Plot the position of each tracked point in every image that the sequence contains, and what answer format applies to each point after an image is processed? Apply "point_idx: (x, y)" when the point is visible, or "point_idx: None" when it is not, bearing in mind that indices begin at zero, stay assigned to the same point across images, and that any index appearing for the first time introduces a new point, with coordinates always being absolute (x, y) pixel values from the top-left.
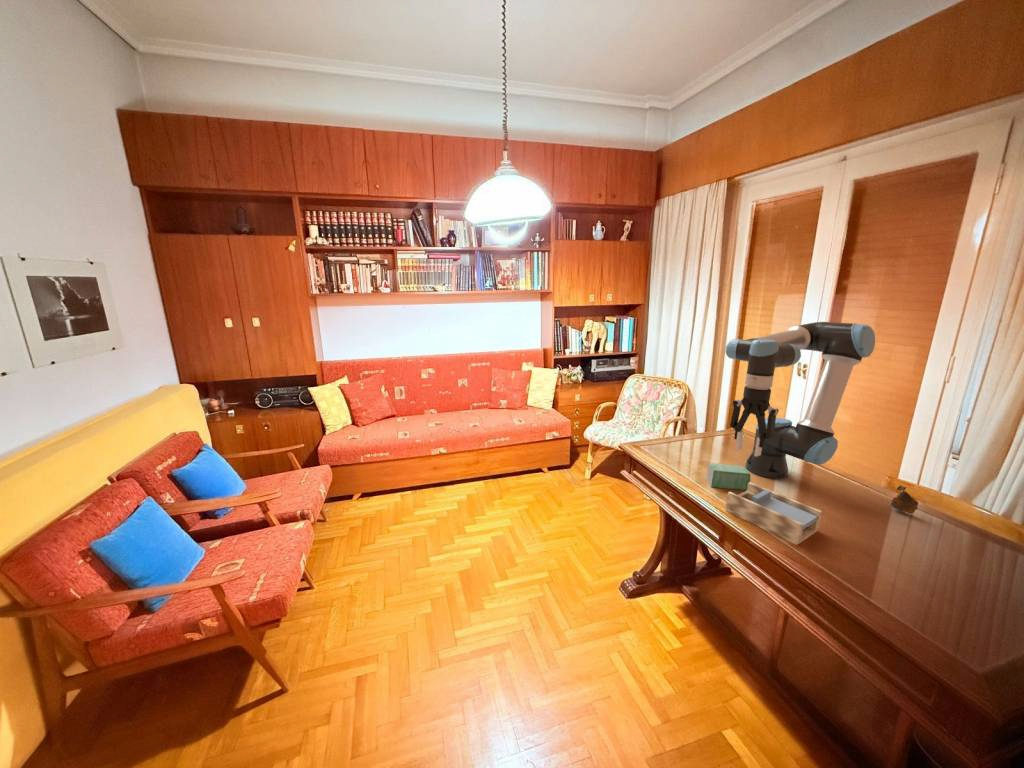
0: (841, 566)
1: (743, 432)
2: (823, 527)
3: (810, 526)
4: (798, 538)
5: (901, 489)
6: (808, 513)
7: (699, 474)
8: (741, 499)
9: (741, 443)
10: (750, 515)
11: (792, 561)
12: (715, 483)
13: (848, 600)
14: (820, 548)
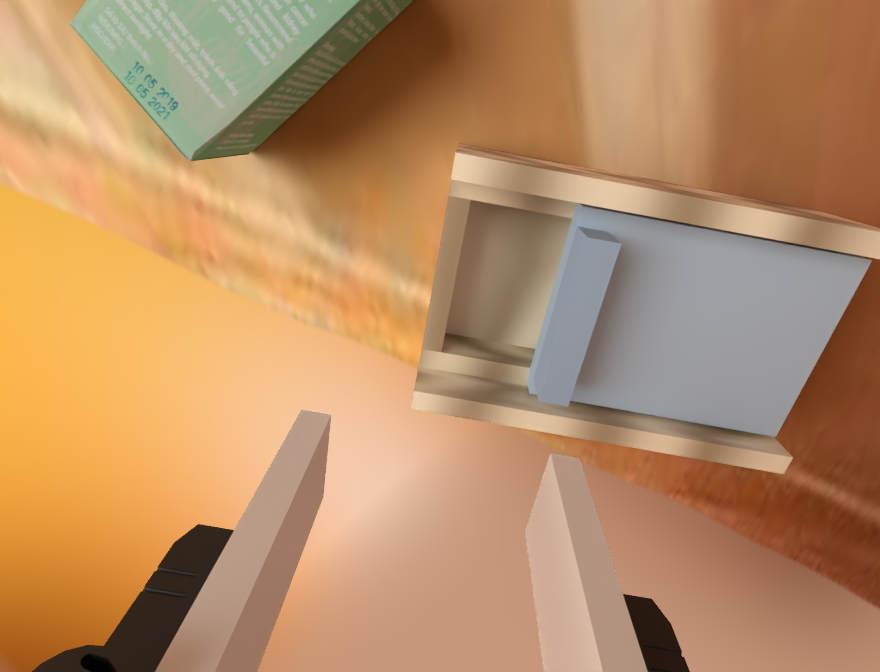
0: (876, 430)
1: (224, 665)
2: (856, 147)
3: None
4: None
5: None
6: (823, 264)
7: None
8: (490, 418)
9: (306, 488)
10: None
11: (713, 511)
12: (255, 143)
13: (860, 576)
14: (815, 364)
